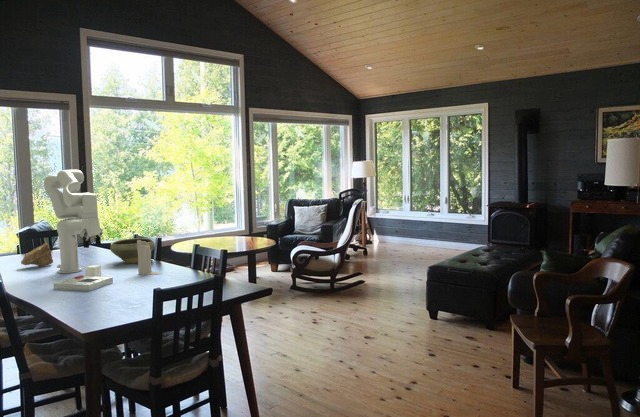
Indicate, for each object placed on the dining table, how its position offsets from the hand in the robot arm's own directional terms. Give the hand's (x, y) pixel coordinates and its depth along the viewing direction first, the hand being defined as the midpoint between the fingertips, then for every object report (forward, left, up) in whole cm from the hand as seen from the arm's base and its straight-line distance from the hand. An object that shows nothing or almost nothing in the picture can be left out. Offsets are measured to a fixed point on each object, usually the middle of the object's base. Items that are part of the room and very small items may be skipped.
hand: (92, 246), depth 281 cm
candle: (+25, +17, -19) cm, 35 cm away
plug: (0, 0, -18) cm, 18 cm away
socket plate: (+7, -16, -18) cm, 25 cm away
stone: (-61, +23, -19) cm, 68 cm away
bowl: (-8, +48, -19) cm, 52 cm away
